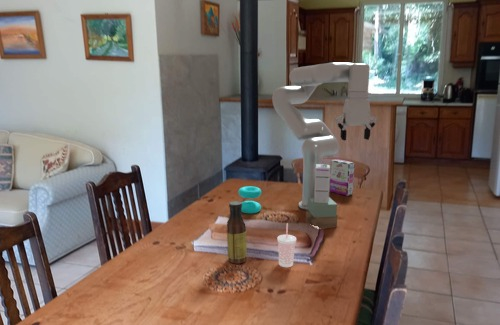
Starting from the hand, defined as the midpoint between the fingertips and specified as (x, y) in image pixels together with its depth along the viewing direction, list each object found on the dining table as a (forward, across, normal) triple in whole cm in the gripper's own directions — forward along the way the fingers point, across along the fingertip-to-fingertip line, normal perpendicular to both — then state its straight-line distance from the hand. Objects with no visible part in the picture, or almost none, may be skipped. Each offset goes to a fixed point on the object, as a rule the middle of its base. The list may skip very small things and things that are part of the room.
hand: (355, 139), depth 174 cm
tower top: (+29, +13, +2) cm, 32 cm away
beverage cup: (+34, +37, +33) cm, 60 cm away
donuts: (+34, +38, -20) cm, 55 cm away
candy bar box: (+34, -12, -38) cm, 52 cm away
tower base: (+34, +13, +1) cm, 37 cm away
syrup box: (+24, +14, +2) cm, 28 cm away
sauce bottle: (+34, +52, +28) cm, 68 cm away
